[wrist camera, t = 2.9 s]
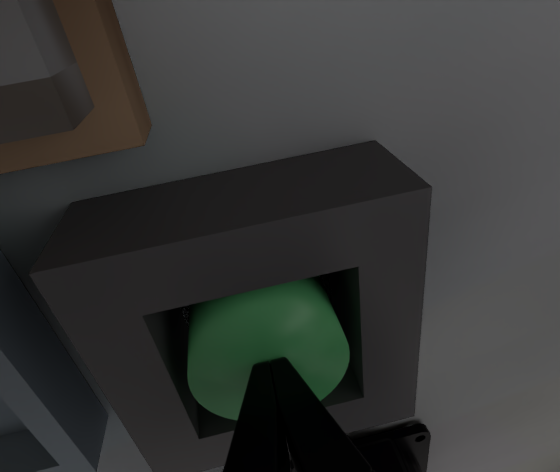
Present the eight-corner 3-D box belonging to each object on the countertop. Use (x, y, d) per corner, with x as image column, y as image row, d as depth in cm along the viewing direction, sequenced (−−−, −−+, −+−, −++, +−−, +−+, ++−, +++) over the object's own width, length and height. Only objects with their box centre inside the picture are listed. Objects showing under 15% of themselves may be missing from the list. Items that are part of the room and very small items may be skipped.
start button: (326, 329, 13) (352, 400, 11) (207, 357, 13) (210, 436, 11) (314, 229, 11) (345, 291, 9) (172, 260, 11) (165, 332, 8)
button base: (377, 344, 15) (414, 416, 12) (166, 395, 14) (159, 482, 12) (375, 140, 10) (431, 187, 8) (71, 202, 10) (28, 274, 7)
